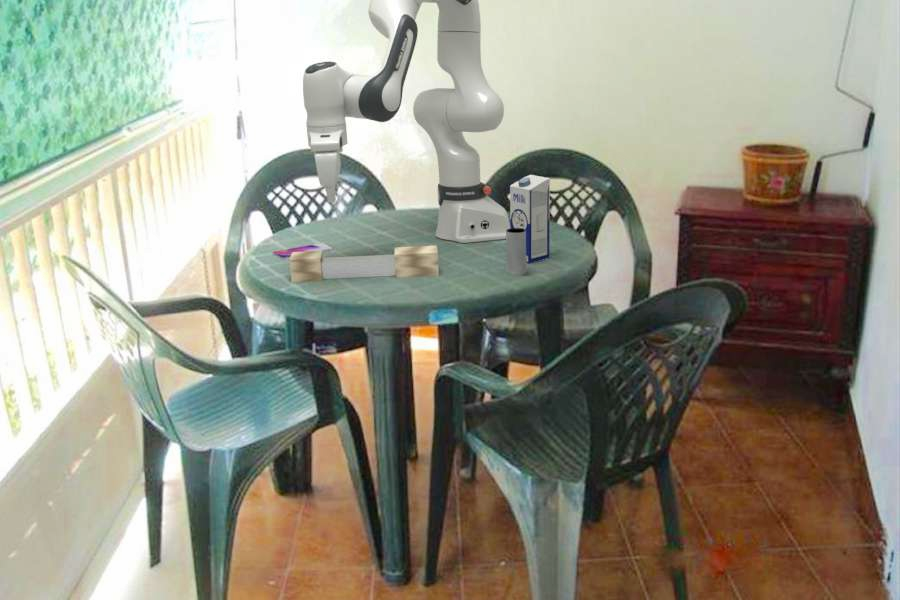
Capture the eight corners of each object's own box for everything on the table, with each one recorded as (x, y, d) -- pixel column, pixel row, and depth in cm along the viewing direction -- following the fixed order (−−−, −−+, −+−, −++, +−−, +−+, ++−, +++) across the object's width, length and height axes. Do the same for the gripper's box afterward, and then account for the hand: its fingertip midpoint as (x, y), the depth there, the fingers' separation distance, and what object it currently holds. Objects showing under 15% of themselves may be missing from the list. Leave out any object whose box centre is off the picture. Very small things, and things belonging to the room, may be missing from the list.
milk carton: (549, 258, 206) (550, 177, 200) (529, 263, 202) (529, 181, 196) (530, 252, 211) (530, 173, 205) (510, 257, 208) (509, 177, 201)
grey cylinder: (520, 277, 192) (520, 233, 189) (503, 274, 195) (502, 231, 191) (529, 271, 196) (529, 228, 193) (512, 269, 198) (511, 226, 195)
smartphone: (335, 248, 220) (282, 258, 212) (335, 251, 220) (282, 261, 213) (323, 242, 226) (271, 251, 218) (324, 245, 226) (271, 254, 218)
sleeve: (437, 268, 201) (436, 245, 199) (438, 275, 195) (437, 252, 193) (395, 270, 201) (394, 247, 199) (395, 277, 195) (394, 254, 193)
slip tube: (412, 269, 200) (411, 253, 198) (412, 274, 196) (412, 258, 195) (302, 275, 198) (301, 258, 197) (300, 280, 195) (299, 263, 193)
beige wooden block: (324, 273, 200) (322, 250, 198) (322, 281, 194) (320, 258, 192) (294, 274, 200) (292, 252, 198) (291, 283, 193) (289, 259, 192)
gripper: (317, 131, 199) (322, 188, 204) (309, 145, 180) (315, 208, 185) (343, 129, 200) (348, 186, 204) (339, 143, 180) (344, 206, 185)
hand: (333, 197), depth 194 cm, fingers open, 8 cm apart
